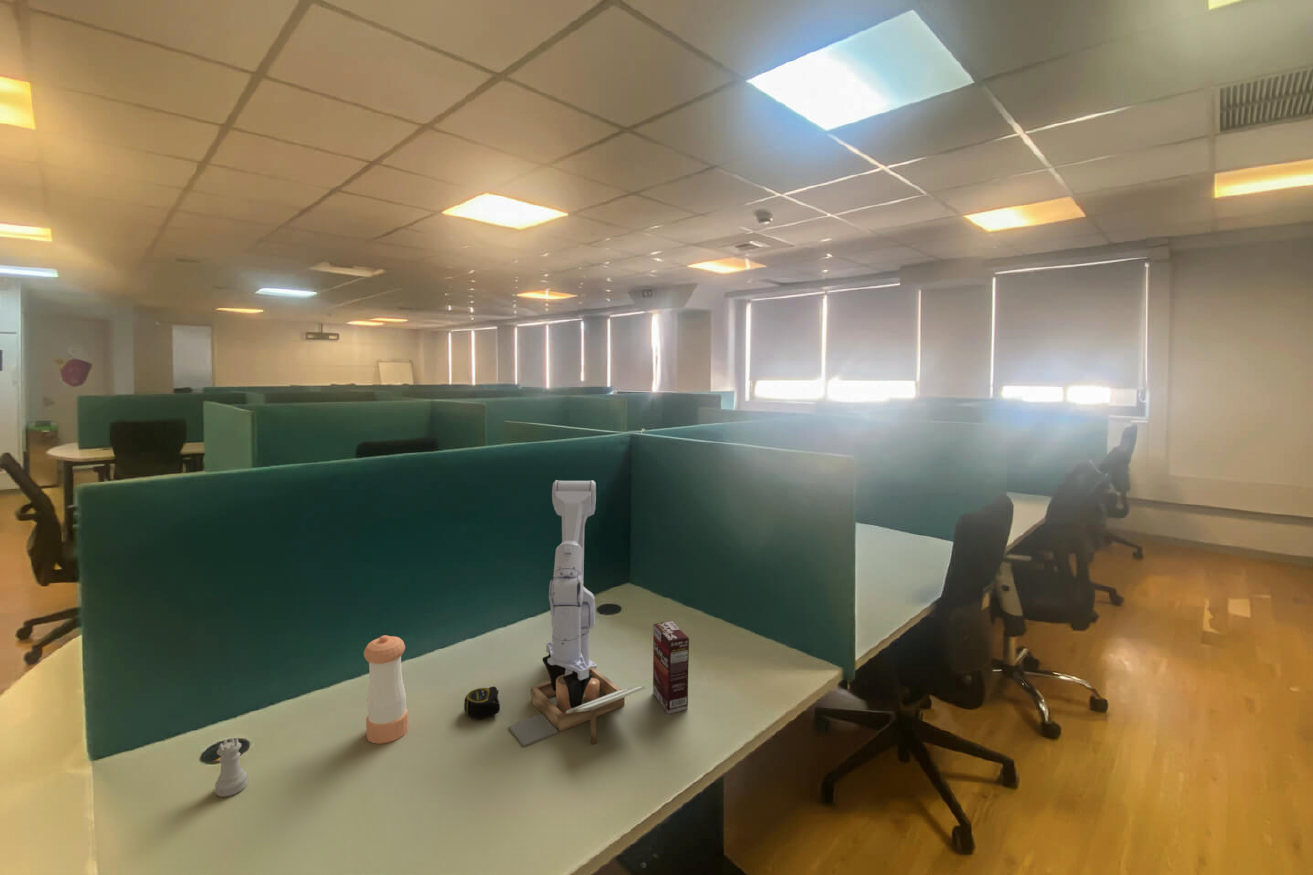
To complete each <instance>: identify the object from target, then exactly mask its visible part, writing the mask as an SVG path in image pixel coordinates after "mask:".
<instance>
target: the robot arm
mask: <svg viewBox="0 0 1313 875" xmlns="http://www.w3.org/2000/svg"><path fill="white" fill-rule="evenodd" d="M596 485H597V484H596V481H595V480H557V479H555V480H554V482H553V483H552V487H551V488H552V490H551V491H552V492H551V499H552V505H553V508H554V511H555V514H556V515H557V516H559V517H561V543H560V544H559V545H557V547H556V549H555V555H554V556H555V557H554V567H553V578H552V579H550V582H549V589H548V590H549V591H548V592H549V593H548V600H549V606H550V616H551V627H552V629H551V631H552V632H551V633H552V634H551V641H548V642H546V643H545V644H546V648H545V649H546V650H545V651H546V653H547V654H548V655H547V656H544V657H542V663H543V664H544V666H545V667H546V670H547V673H548V675H549V679H550V680H551V685H552V688H553V691H556V679H557V678H558V677H559V676H561V675H565V674H569V675H566V676H563V679H564V681H565V683H566V685H567V688H568V693H569V702H570V706H571V708H575V707H577V706H580V705H582V704H583V703H582V702H583V699H584V692H585V689H586V687H587V685H588V683H589V681H590V679H591V678H592V673H591V672H590V671H589V668H588V667H591V666H593V667H594V668H595V669H596V668H597V664H596V663H595V662H594V661H592V660H591V659H590V630H593V628H594V627H595V625H596V624H595V623H596V602H595V600H596V599H595V598H596V597H595V596H594V593H592V592H591V591H590V590H588V589H587V588H586V587H585V586H584V571H585V570H584V568H585V567H584V566H585V565H584V564H585V561H584V560H585V525H586V522H587V519H588V518H589V517H590V516H593V515H595V511H596V501H597V492H596V491H597V486H596ZM571 673H572V674H571ZM550 680H549V681H550Z"/></svg>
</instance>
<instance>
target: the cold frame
mask: <svg viewBox="0 0 1313 875" xmlns="http://www.w3.org/2000/svg"><path fill="white" fill-rule="evenodd" d="M588 668H589V671H590V672H591V673H592V678H595V679H598V680H599V691H601V692H602V693H603V694H604V696H601V697H600V696H599V698H598V699H595V700H593V701H590V702H588V701H586V702H585V703H581V705H580V706H577V707H575V708H572V709H569V710H567V711H566V712H563V713H562V712H561V711H560V710H559V709H558V708H557V707H556V704H554V703H553V702H552V701H551V700H550V699H549V698H550V697H552V696H556V691H553V688H552V685H551V680H548V681H544V682H543V683H538V684H536V685H534V686H531V687H530V702H531V703H533V705H534V706H535V707H536V708H537V709H538V710H539V711H540V712H541V713H542V714H543V716H544V717H545V718H546V719H547V720H548V721H549V722H550V723H551V724H552V725H553V726H554V727H555V728H556V729H557V730H558V731H559V732H564V731H566V730H568V729H571V728H572V727H575V726H578V725H580V724H582V723H585V722H588V721H590V744H592V745H595V744H596V743H597V717H600V716H602V715H605V714H607V713H609V712H612V711H613V710H616V709H618V708H621V707H623V706H625V700H626V699H625V698H626V697H628V696H630V695H633V694H635V693H638V692H640V691H643V690H646V686H645V685H643V686H637V687H631V688H626V689H622V688H621V687H620V686H618V685H617V684H615V683H614V682H613V681H612V680H611V679H610V678H608V677H607V676H605V675H604V674H603V673H602V672H600V671H599V670H598V669H597V668H596V667H595V668H594V667H593V666H591V667H588ZM571 674H572V673H571Z"/></svg>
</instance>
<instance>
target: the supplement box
mask: <svg viewBox="0 0 1313 875" xmlns="http://www.w3.org/2000/svg"><path fill="white" fill-rule="evenodd" d="M652 639H653V645H652V646H653V648H652V652H653V655H652V656H653V657H652V661H653V662H652V669H653V670H652V693H653V695H654V696H655V697H656V698H657V700H658V701H659V703H660V704H661V705H662V707H663V709H664V710H665V711H666V714H668V715H669V714H674V713H678V712H682V711H686V710H688V707H689V706H688V704H689V695H688V694H689V662H690V661H689V655H690V637H689V636H688V635H686V634H685V633H684V632H683V631H682V630H681V629H680V628H679V627H678V626H677V624H675V622H674V621H673V620H670V621H669V620H668V621H662V622H658V623H654V624H653V638H652Z"/></svg>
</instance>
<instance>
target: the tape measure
mask: <svg viewBox="0 0 1313 875" xmlns="http://www.w3.org/2000/svg"><path fill="white" fill-rule="evenodd" d="M463 702H464V704H463V706H464V709H463V710H464V712H465V714H467V716H468V717H470V718H473V719H483V718H487V717H491V716H494V715H497V714H498V713H499V712H500V709H501V708H500V707H501V704H500V701H499V689H497V687H496V686H490V687H479V688H475V689H473V690H471V691H469V692H468V693H467V694H466V696H465V698H464V701H463Z"/></svg>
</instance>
